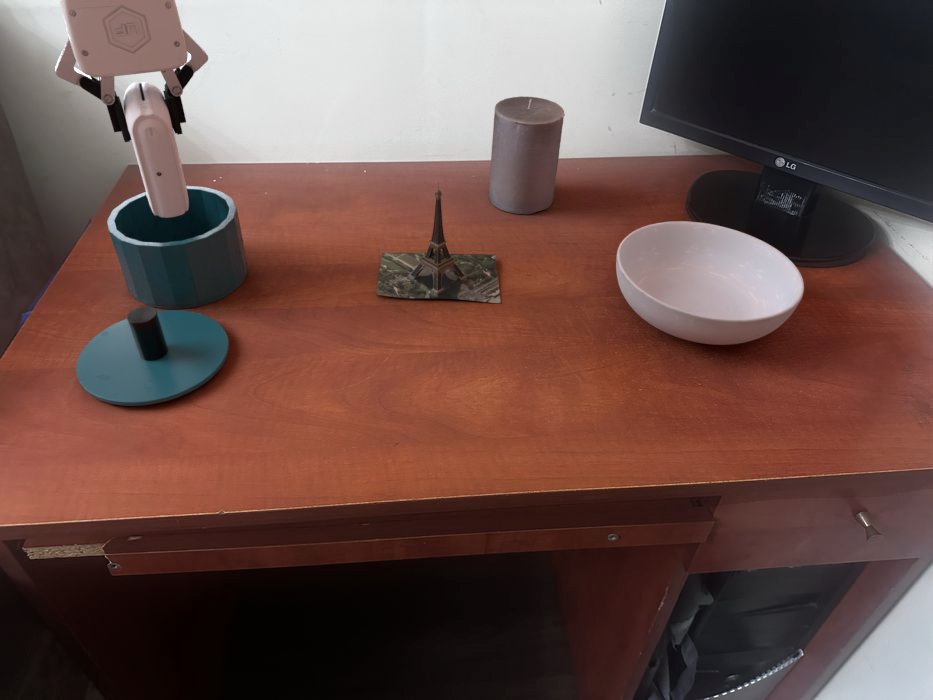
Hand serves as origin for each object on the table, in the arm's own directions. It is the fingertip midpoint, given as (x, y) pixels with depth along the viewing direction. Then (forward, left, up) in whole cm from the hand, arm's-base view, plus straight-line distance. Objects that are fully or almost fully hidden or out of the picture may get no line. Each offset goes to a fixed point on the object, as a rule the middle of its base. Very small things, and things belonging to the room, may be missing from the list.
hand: (151, 131), depth 75 cm
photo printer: (0, 0, -8) cm, 8 cm away
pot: (0, 0, -18) cm, 18 cm away
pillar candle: (+48, +1, -19) cm, 51 cm away
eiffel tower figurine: (+28, -13, -19) cm, 36 cm away
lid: (-6, -15, -18) cm, 24 cm away
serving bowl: (+53, -32, -19) cm, 65 cm away
